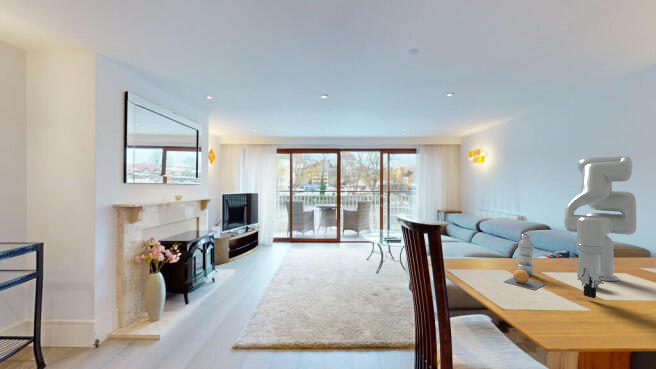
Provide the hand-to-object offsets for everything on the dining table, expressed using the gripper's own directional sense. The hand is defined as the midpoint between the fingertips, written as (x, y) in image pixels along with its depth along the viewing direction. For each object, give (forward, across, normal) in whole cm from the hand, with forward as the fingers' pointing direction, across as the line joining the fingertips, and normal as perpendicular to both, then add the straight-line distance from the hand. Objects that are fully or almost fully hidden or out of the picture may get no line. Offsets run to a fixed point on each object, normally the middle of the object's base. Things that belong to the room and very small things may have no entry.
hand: (589, 296), depth 105 cm
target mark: (+2, 0, -22) cm, 22 cm away
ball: (-2, +1, -23) cm, 23 cm away
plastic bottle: (+2, -16, -27) cm, 31 cm away
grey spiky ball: (+2, -20, -4) cm, 20 cm away
